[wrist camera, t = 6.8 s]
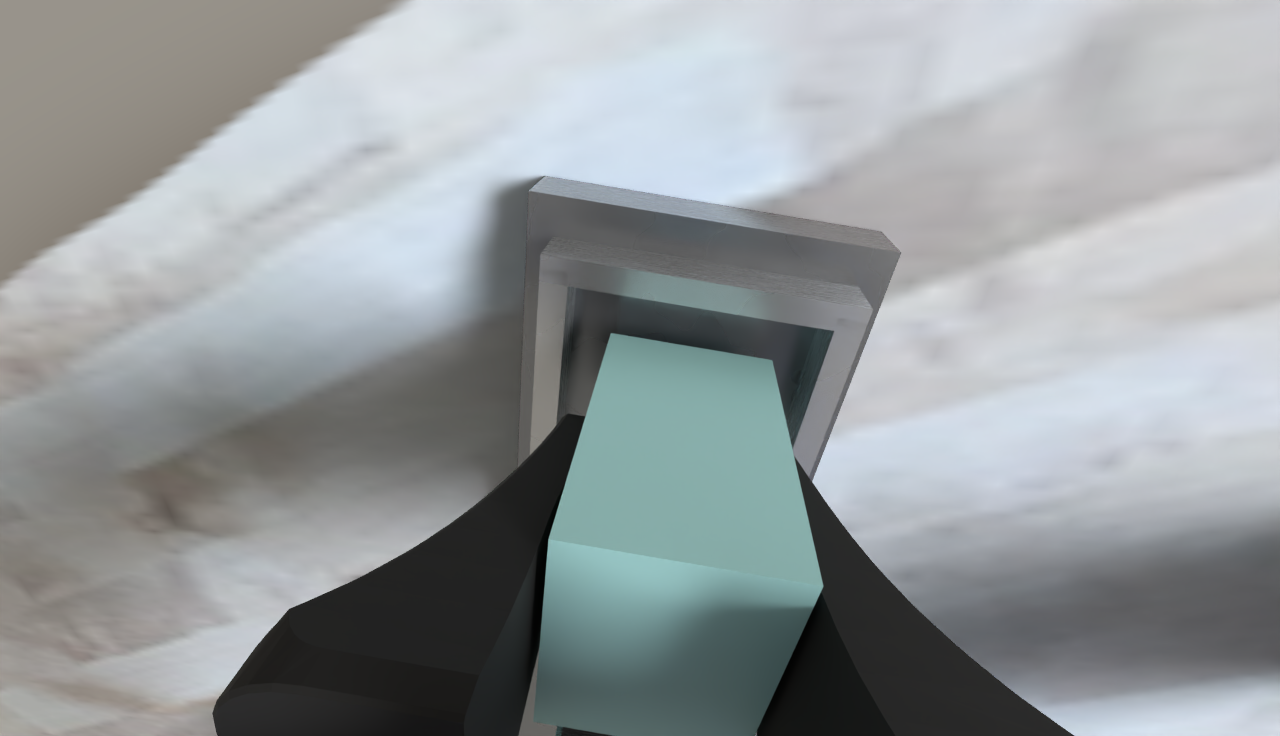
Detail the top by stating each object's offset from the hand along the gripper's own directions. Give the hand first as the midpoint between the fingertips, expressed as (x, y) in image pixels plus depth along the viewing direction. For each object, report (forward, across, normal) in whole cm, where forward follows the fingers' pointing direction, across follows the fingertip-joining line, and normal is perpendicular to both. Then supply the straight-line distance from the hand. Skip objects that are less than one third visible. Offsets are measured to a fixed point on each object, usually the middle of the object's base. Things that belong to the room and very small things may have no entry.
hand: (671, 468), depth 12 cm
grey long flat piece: (+4, 0, +6) cm, 7 cm away
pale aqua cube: (+2, 0, 0) cm, 2 cm away
